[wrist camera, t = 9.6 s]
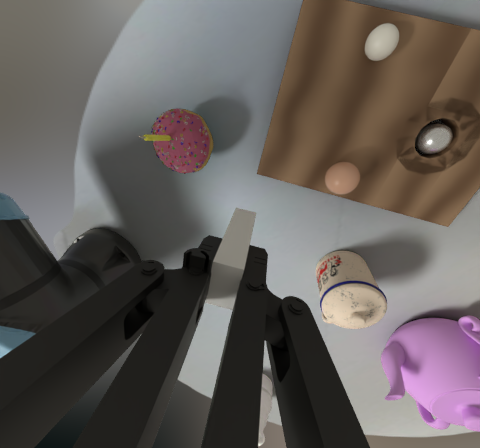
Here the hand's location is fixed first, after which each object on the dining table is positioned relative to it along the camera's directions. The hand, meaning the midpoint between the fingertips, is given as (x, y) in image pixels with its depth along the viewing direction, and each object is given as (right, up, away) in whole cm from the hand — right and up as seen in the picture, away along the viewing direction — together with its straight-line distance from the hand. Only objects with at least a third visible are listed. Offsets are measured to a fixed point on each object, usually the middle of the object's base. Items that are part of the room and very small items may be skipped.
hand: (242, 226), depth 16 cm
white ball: (+14, +19, +6) cm, 25 cm away
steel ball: (+24, +11, +11) cm, 28 cm away
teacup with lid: (+18, -9, +25) cm, 32 cm away
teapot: (+35, -22, +28) cm, 50 cm away
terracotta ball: (+13, +6, +12) cm, 19 cm away
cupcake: (-7, +14, +18) cm, 24 cm away
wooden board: (+18, +13, +13) cm, 26 cm away
